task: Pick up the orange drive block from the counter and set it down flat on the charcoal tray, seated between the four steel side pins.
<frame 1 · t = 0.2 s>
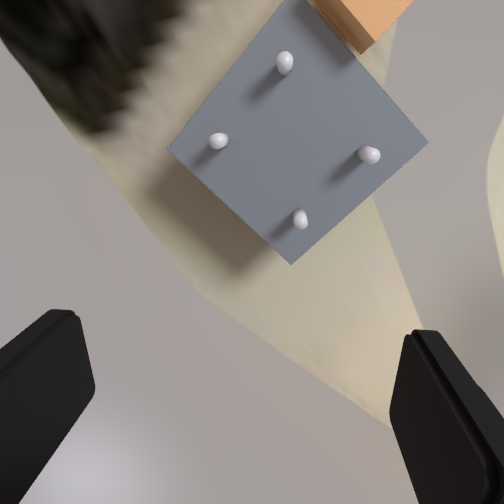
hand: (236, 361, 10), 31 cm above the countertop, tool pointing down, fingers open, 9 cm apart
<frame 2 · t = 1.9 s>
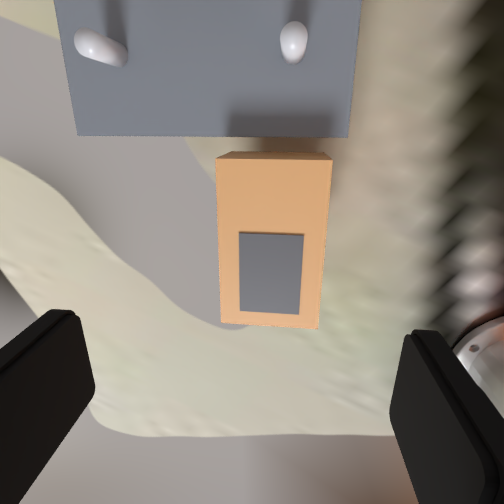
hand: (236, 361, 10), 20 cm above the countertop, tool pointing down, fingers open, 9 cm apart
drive: (274, 225, 23), point 6 cm above the countertop
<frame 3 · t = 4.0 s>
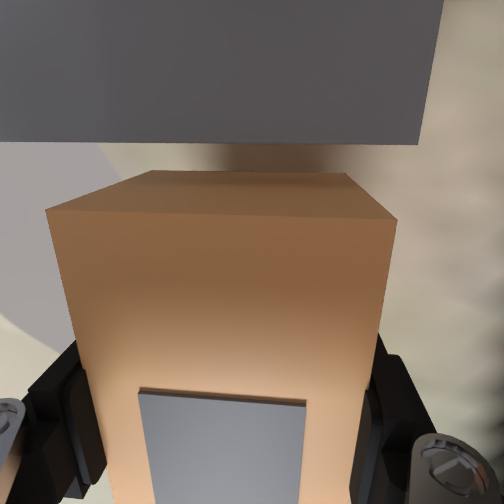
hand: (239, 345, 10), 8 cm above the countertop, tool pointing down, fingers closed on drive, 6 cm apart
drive: (246, 311, 12), point 6 cm above the countertop, touching gripper
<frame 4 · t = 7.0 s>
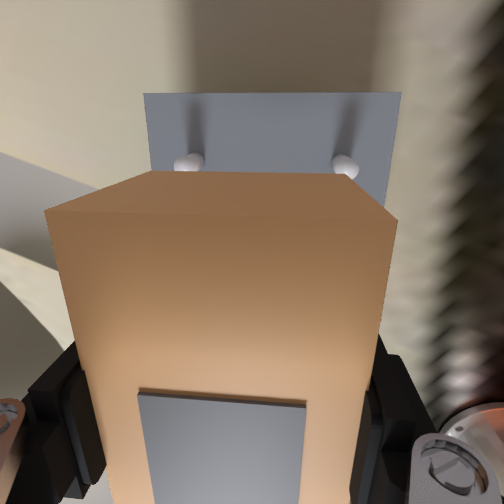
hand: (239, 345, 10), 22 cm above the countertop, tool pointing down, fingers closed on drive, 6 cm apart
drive: (246, 311, 12), point 21 cm above the countertop, touching gripper
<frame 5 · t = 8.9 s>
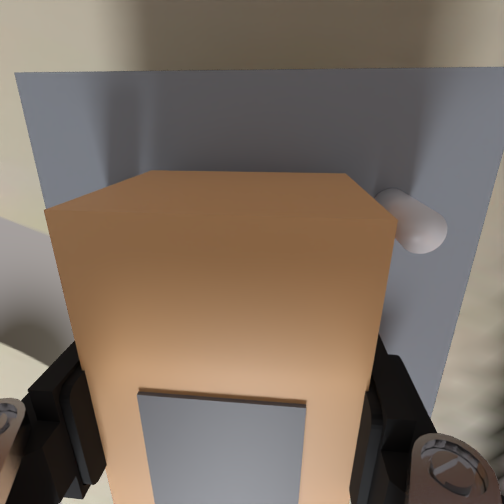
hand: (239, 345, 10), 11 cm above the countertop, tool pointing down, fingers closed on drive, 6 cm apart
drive: (246, 311, 12), point 10 cm above the countertop, touching gripper
when the fingers open (10 cm above the countertop, at t = 10.3 s): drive stays where it is, resting on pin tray.
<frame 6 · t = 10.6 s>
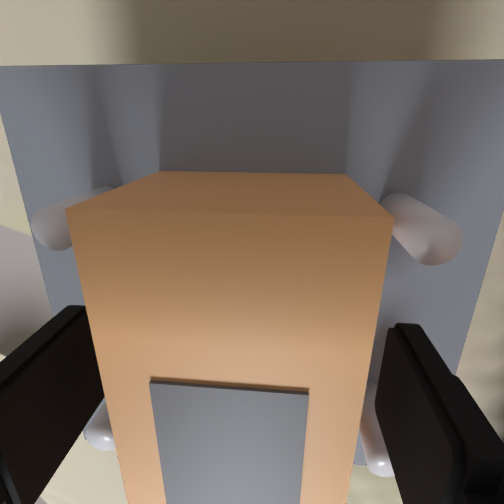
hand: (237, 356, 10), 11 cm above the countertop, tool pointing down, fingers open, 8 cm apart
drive: (250, 307, 12), point 8 cm above the countertop, touching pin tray
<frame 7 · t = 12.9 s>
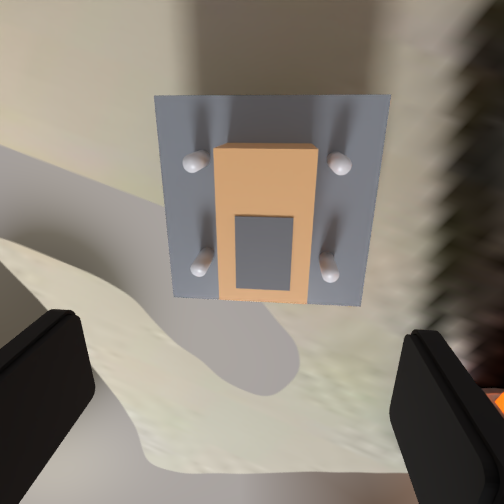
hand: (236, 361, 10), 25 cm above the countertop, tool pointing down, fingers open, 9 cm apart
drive: (267, 211, 25), point 8 cm above the countertop, touching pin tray
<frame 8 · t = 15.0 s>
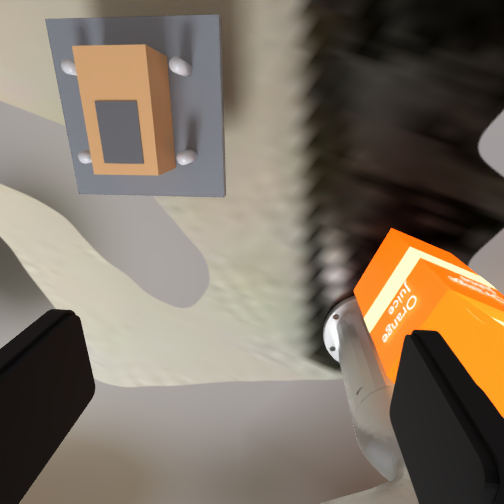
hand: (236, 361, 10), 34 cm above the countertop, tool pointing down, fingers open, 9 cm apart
orange juice: (399, 271, 39), point 5 cm above the countertop
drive: (141, 115, 32), point 8 cm above the countertop, touching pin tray
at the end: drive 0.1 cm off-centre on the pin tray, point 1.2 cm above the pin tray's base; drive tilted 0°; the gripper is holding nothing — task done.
